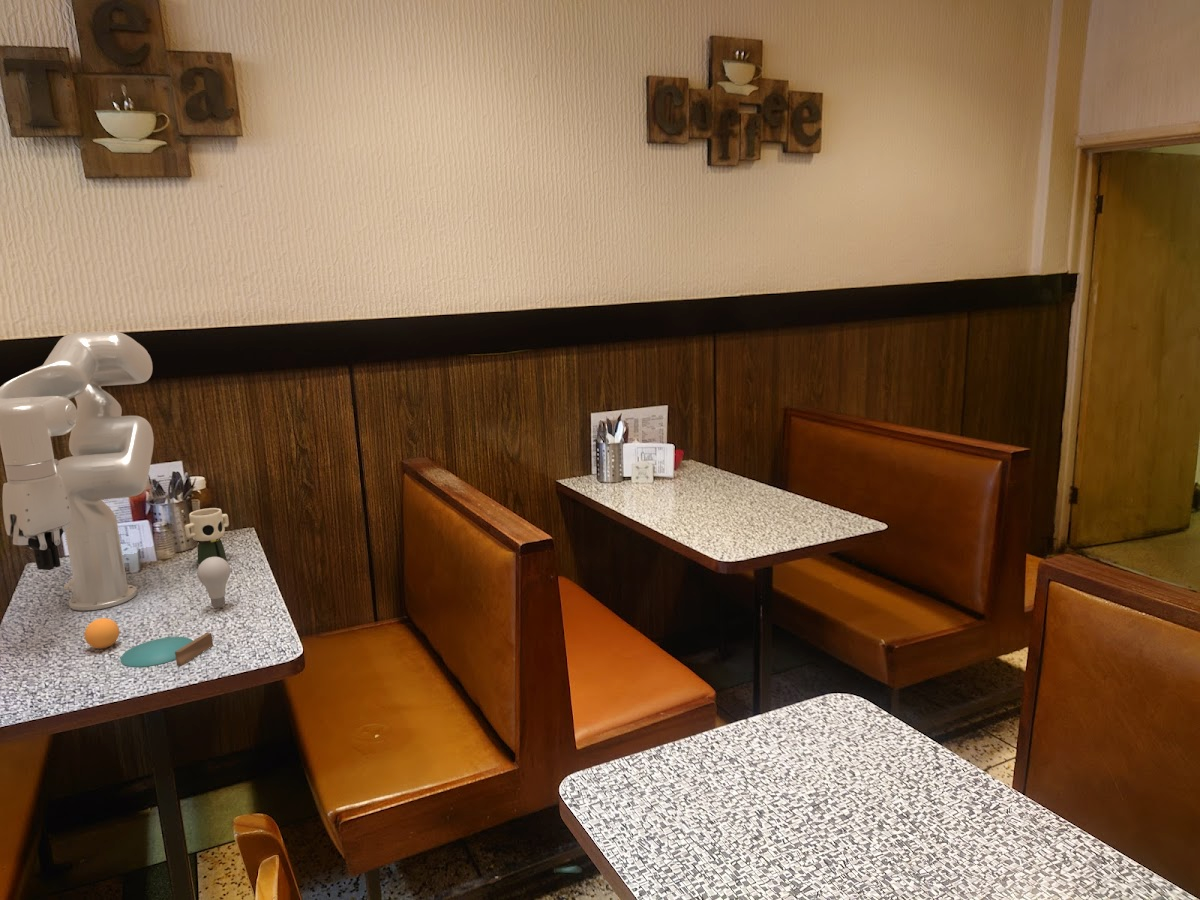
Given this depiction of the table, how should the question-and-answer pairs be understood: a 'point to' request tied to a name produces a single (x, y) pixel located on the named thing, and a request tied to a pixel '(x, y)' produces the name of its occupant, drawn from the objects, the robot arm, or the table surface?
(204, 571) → the lightbulb
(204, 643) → the stopper strip
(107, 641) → the ball
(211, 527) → the character mug
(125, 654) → the disc
